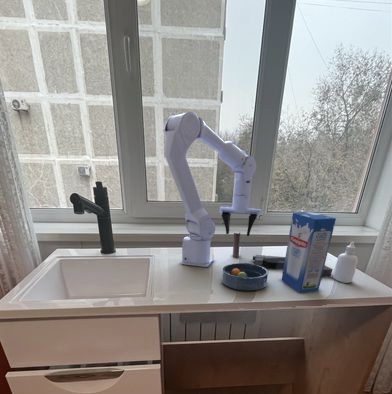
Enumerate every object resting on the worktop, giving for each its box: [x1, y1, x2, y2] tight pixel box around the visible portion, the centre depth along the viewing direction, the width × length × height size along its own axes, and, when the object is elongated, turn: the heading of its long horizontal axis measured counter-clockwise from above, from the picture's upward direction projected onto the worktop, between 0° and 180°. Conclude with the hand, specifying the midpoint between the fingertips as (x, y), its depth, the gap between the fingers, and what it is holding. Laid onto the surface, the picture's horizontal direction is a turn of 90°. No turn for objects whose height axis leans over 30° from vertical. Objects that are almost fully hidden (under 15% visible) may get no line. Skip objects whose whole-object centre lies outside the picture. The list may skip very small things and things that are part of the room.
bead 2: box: [237, 272, 247, 277], centre depth 85 cm, size 3×3×3 cm
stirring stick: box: [232, 231, 241, 258], centre depth 108 cm, size 2×2×9 cm
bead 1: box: [231, 268, 240, 276], centre depth 87 cm, size 3×3×3 cm
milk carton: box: [281, 211, 337, 294], centre depth 81 cm, size 10×6×20 cm, turn 16°
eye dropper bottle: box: [332, 241, 359, 284], centre depth 87 cm, size 4×6×12 cm
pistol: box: [252, 254, 333, 277], centre depth 98 cm, size 2×26×15 cm
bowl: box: [221, 262, 269, 292], centre depth 85 cm, size 13×13×4 cm
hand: (237, 234), depth 106 cm, fingers open, 7 cm apart
